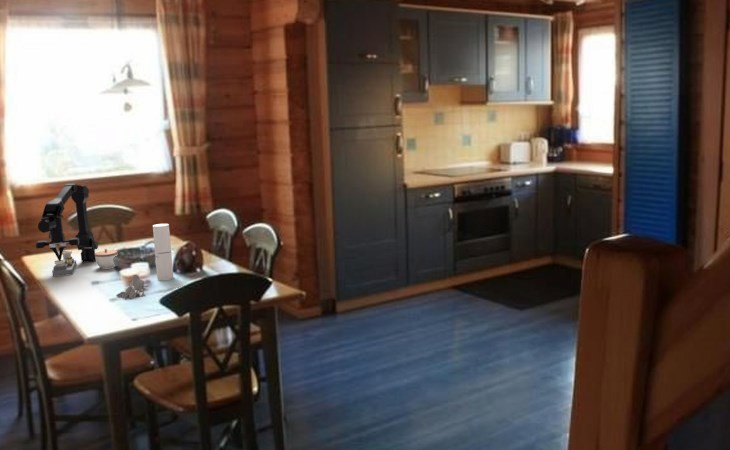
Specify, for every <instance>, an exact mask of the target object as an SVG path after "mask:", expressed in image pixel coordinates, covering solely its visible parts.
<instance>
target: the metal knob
mask: <svg viewBox="0 0 730 450" xmlns="http://www.w3.org/2000/svg"><path fill="white" fill-rule="evenodd" d="M72 259H73V256H71V257H66V260H67V266H71V265H72Z"/></svg>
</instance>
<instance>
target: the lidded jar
mask: <svg viewBox="0 0 730 450" xmlns="http://www.w3.org/2000/svg"><path fill="white" fill-rule="evenodd" d="M118 253H119V252H118V251H117V250H115V249H107V248H105V249H104V250H100V251H97V252H96V251H95V259H96V261H95V263H96V265H97V266H98V267H99V268H100V269H102V270H110V269H113V268H114V267H115V266H114V264H113V258H114V257H115V256H117V255H118Z"/></svg>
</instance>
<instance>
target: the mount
mask: <svg viewBox="0 0 730 450" xmlns="http://www.w3.org/2000/svg"><path fill="white" fill-rule="evenodd" d="M76 268H77V260H76V259H75V258H72V265H71V266H67V261H65V263H64V266H61V267H56V264H54V265H53V269H52V272H51V274H52V277H58V276H68V275H69V276H71V275H73V274H74V272H75V269H76Z"/></svg>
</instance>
